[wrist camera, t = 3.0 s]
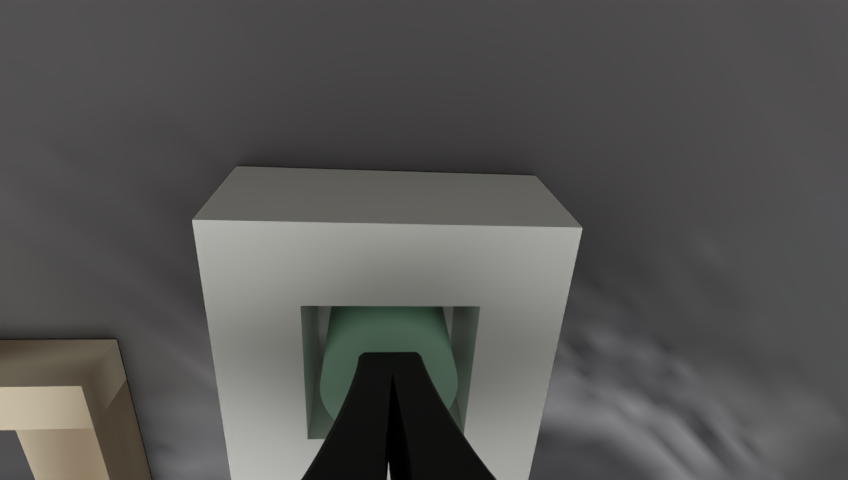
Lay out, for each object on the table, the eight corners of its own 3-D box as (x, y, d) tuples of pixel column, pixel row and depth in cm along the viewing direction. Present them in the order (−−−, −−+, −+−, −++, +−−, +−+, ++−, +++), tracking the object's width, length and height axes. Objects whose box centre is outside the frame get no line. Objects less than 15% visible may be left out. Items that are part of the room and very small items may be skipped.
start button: (446, 266, 14) (464, 331, 11) (438, 358, 15) (452, 436, 12) (328, 264, 13) (317, 331, 11) (331, 359, 15) (321, 440, 12)
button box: (535, 175, 14) (582, 227, 11) (499, 397, 17) (527, 485, 14) (236, 166, 13) (191, 219, 10) (261, 401, 16) (234, 496, 13)
